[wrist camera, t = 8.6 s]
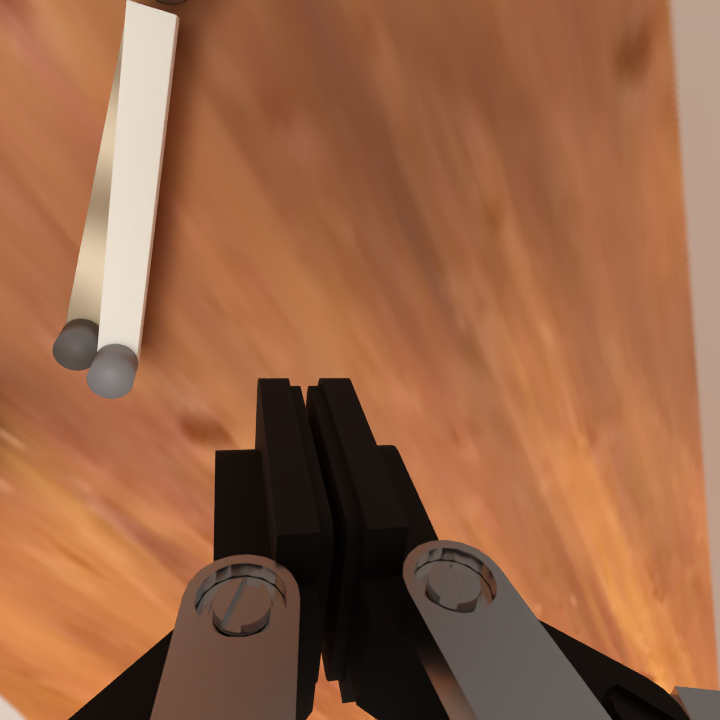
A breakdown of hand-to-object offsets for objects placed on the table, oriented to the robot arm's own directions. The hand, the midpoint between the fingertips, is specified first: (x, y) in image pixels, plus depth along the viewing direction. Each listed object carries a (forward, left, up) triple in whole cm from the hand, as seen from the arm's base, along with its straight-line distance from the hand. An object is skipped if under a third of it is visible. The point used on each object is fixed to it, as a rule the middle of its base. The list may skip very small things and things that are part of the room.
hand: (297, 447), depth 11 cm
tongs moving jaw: (+1, -6, -23) cm, 24 cm away
